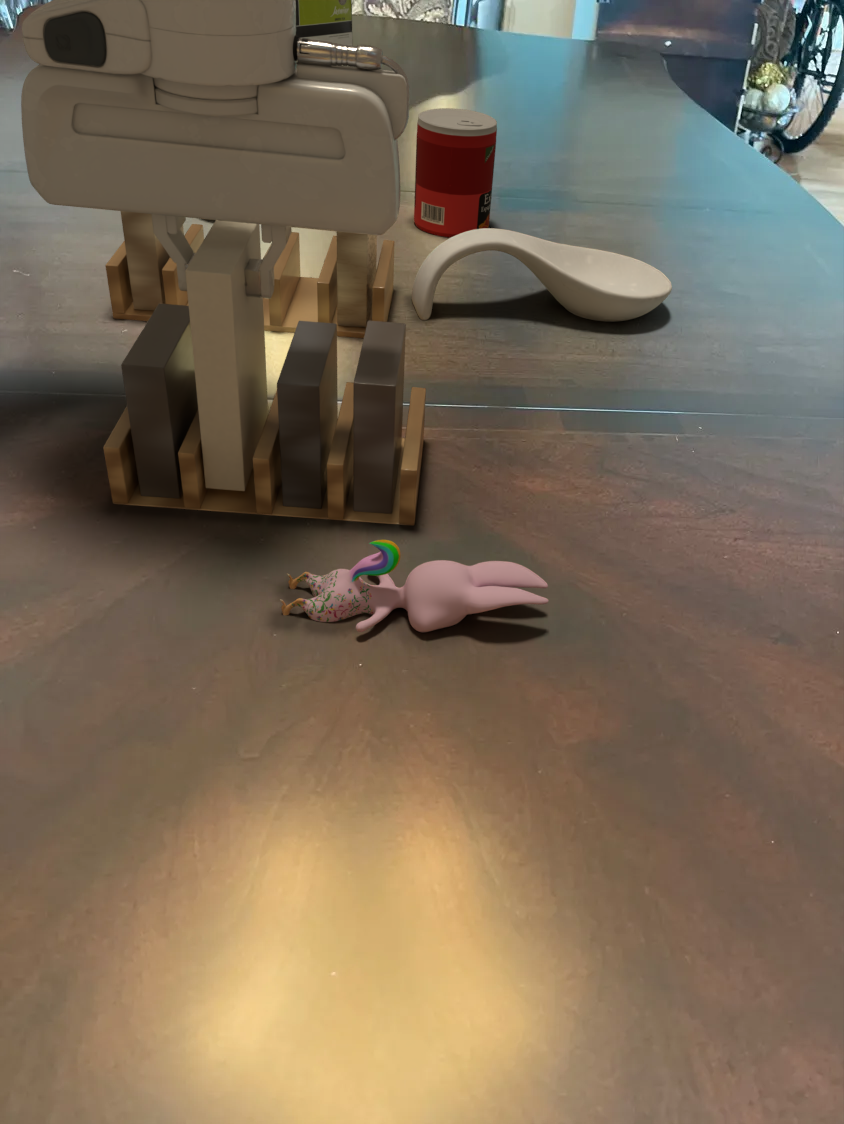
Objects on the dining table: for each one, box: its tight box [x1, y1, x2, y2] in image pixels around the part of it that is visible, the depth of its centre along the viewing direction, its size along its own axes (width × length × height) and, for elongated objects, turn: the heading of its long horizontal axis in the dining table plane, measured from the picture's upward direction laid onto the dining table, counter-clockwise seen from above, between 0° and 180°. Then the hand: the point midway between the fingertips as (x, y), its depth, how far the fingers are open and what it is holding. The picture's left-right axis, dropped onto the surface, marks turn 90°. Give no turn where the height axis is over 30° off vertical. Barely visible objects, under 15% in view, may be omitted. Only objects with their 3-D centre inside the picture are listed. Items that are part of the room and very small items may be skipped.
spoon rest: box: [411, 227, 673, 323], centre depth 94 cm, size 24×12×7 cm, turn 104°
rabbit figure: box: [278, 539, 549, 633], centre depth 59 cm, size 6×6×15 cm
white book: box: [185, 220, 269, 491], centre depth 65 cm, size 2×9×14 cm, turn 179°
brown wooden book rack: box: [102, 303, 427, 526], centre depth 68 cm, size 19×11×10 cm, turn 89°
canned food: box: [413, 107, 498, 238], centre depth 108 cm, size 8×8×11 cm
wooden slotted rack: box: [104, 211, 396, 339], centre depth 88 cm, size 22×11×15 cm, turn 89°
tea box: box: [296, 0, 354, 63], centre depth 162 cm, size 15×10×15 cm, turn 133°
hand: (227, 291), depth 63 cm, fingers closed on white book, 2 cm apart
